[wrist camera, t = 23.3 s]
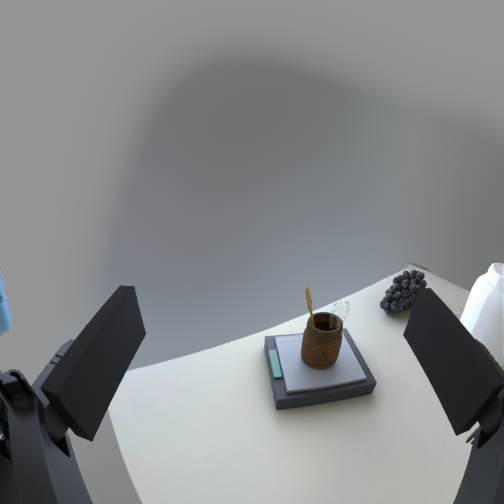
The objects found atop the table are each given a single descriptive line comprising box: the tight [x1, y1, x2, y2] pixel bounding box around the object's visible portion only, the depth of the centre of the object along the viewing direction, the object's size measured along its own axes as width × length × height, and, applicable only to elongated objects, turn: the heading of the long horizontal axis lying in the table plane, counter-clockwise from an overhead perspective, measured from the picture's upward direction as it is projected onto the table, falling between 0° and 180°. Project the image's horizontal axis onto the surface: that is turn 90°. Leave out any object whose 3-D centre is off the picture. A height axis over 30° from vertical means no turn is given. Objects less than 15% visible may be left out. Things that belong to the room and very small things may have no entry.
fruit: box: [380, 270, 427, 314], centre depth 55 cm, size 9×8×15 cm
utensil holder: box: [301, 286, 350, 369], centre depth 37 cm, size 6×6×12 cm
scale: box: [265, 329, 376, 410], centre depth 40 cm, size 15×14×3 cm
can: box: [460, 263, 504, 366], centre depth 30 cm, size 12×12×20 cm
